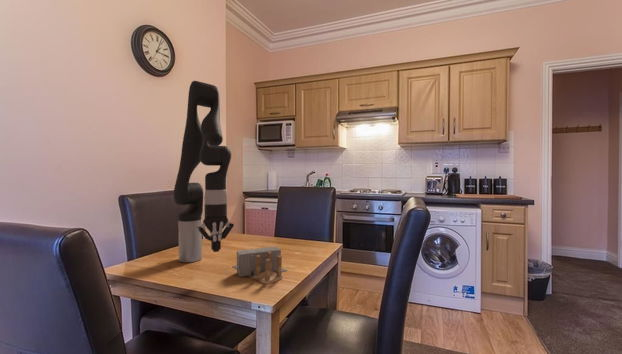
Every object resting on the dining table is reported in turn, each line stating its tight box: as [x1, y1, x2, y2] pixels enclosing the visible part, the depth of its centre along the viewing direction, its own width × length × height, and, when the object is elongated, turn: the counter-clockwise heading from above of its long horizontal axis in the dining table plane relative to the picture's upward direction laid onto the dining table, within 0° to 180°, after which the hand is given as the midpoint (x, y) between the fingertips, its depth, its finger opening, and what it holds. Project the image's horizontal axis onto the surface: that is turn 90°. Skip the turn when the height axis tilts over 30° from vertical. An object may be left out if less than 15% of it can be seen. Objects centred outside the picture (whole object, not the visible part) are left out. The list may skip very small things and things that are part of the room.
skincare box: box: [236, 246, 282, 278], centre depth 110 cm, size 8×7×16 cm
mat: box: [232, 264, 288, 280], centre depth 115 cm, size 18×14×1 cm
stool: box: [253, 252, 283, 285], centre depth 103 cm, size 7×7×8 cm
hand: (215, 251), depth 104 cm, fingers closed
